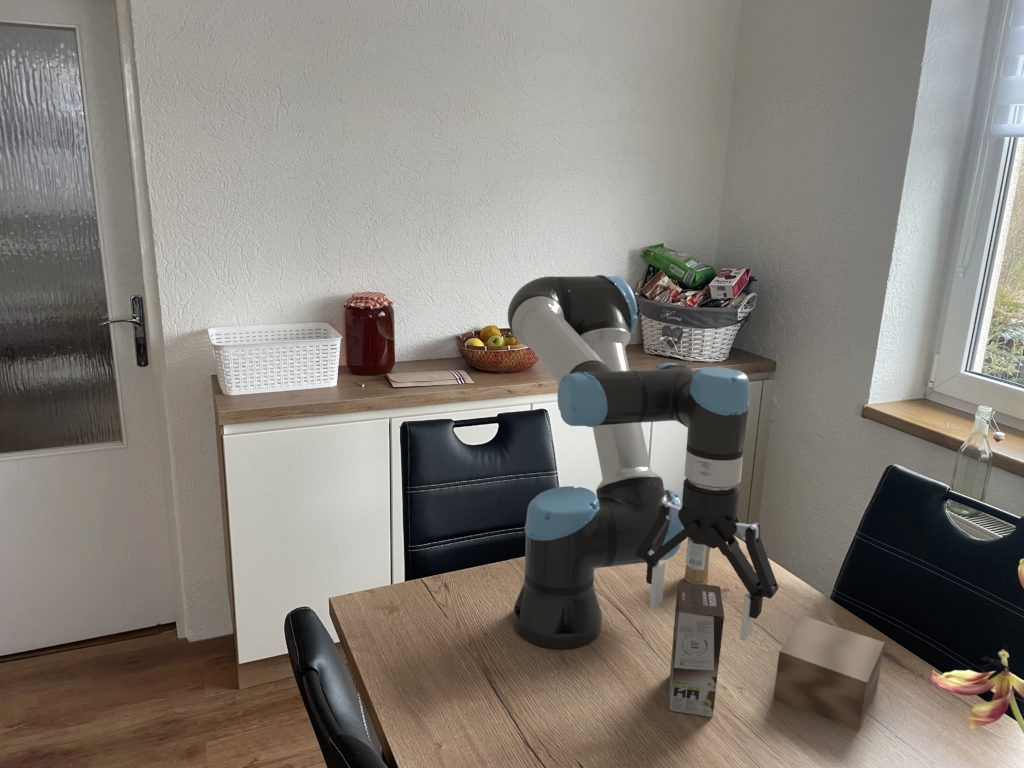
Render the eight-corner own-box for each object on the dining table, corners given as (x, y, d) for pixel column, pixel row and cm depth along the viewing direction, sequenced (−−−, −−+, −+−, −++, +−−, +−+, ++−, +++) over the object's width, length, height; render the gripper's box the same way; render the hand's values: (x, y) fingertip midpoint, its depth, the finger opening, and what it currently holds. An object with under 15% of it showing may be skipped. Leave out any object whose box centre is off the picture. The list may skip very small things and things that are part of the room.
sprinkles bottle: (712, 580, 150) (719, 515, 146) (699, 589, 147) (705, 522, 143) (692, 572, 153) (698, 508, 150) (678, 579, 150) (684, 514, 146)
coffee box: (714, 718, 112) (725, 617, 107) (668, 711, 113) (677, 611, 109) (711, 679, 120) (721, 585, 116) (669, 673, 122) (677, 579, 117)
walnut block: (773, 698, 117) (779, 651, 115) (796, 660, 126) (802, 615, 124) (858, 732, 110) (867, 682, 108) (877, 688, 119) (884, 642, 117)
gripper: (617, 468, 112) (610, 602, 117) (796, 512, 98) (778, 662, 103) (641, 454, 118) (633, 583, 123) (812, 494, 104) (795, 637, 109)
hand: (699, 619), depth 113 cm, fingers open, 13 cm apart
